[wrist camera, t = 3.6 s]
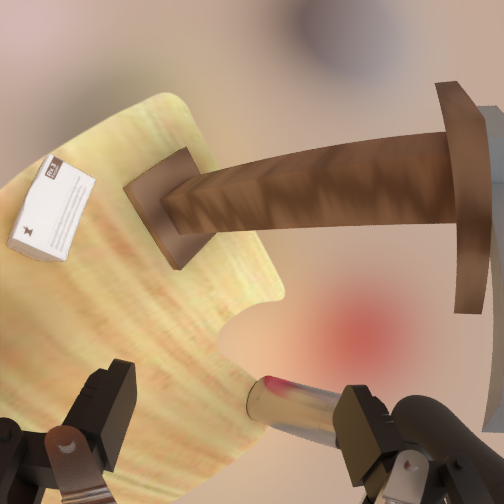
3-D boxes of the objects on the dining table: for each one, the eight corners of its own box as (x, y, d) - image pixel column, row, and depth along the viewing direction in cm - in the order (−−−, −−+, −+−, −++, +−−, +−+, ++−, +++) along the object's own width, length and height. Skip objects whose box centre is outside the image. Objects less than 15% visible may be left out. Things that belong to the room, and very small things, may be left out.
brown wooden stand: (218, 224, 43) (474, 210, 22) (160, 283, 35) (481, 314, 14) (179, 149, 37) (456, 81, 16) (106, 200, 29) (485, 118, 8)
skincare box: (40, 262, 24) (69, 268, 16) (3, 245, 21) (8, 242, 13) (61, 204, 25) (102, 180, 18) (26, 186, 22) (49, 149, 14)
